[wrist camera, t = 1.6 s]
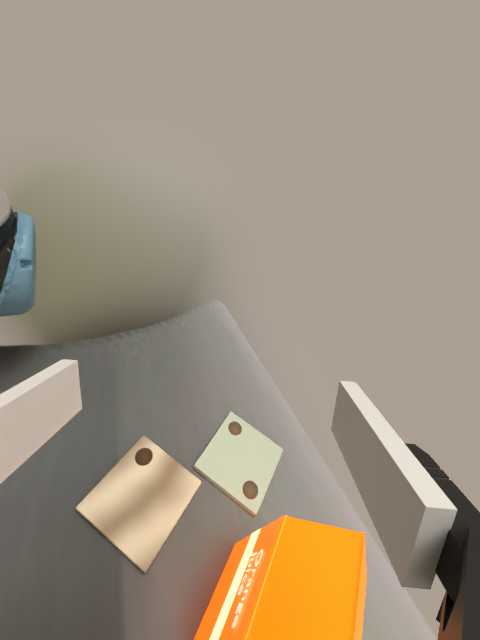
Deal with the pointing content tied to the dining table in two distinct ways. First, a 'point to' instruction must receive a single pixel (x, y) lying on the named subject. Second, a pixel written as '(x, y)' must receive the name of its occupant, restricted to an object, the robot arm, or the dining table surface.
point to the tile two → (240, 462)
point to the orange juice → (290, 585)
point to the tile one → (140, 501)
